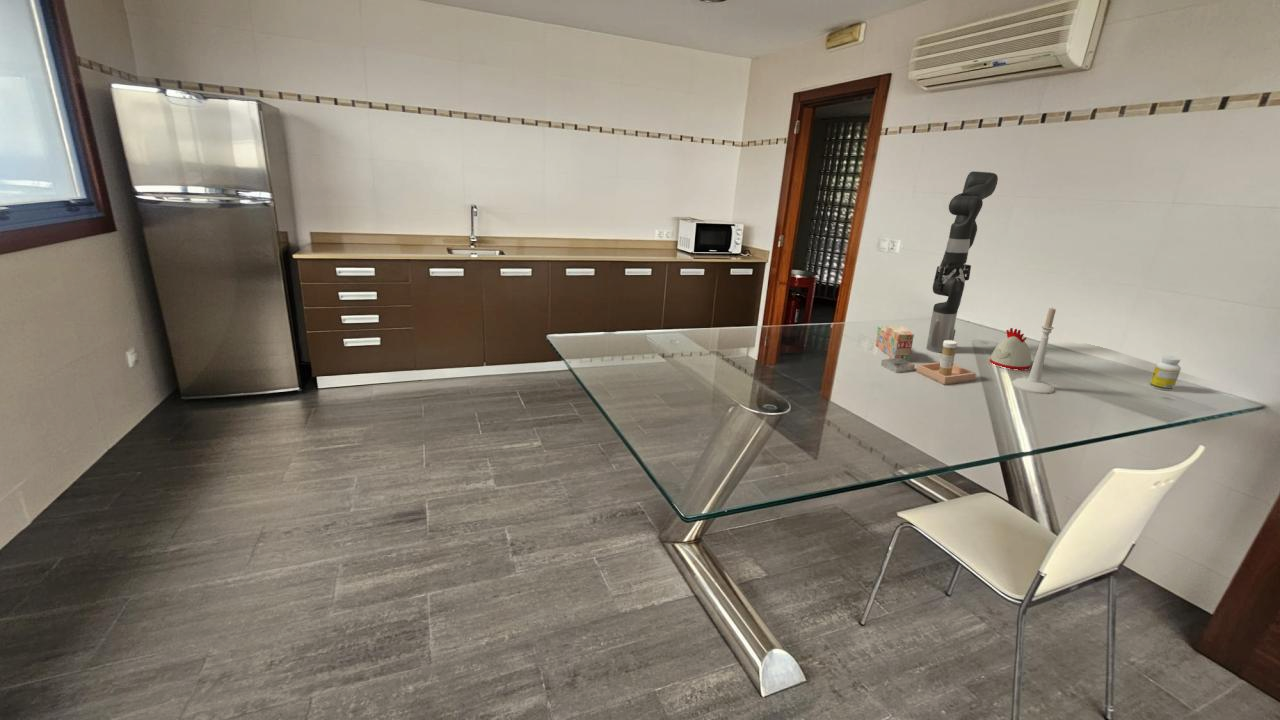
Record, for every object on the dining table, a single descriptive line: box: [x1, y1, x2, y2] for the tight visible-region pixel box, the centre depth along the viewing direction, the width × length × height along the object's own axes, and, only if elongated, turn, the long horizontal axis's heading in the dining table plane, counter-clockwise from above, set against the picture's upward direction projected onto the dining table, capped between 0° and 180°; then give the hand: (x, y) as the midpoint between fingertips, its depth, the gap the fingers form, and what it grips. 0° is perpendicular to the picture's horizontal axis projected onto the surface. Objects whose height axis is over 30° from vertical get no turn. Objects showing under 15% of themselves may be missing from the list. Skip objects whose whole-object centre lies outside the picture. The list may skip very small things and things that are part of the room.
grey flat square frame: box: [880, 358, 916, 374], centre depth 216 cm, size 9×9×2 cm
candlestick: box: [1011, 307, 1057, 395], centre depth 191 cm, size 13×13×30 cm
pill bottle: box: [1149, 355, 1182, 391], centre depth 192 cm, size 6×6×12 cm
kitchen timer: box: [989, 327, 1032, 371], centre depth 216 cm, size 14×14×15 cm
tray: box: [916, 361, 977, 386], centre depth 207 cm, size 14×14×3 cm
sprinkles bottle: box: [938, 340, 958, 376], centre depth 205 cm, size 5×5×14 cm
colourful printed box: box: [875, 325, 915, 362], centre depth 231 cm, size 21×6×12 cm, turn 178°
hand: (949, 292), depth 210 cm, fingers open, 8 cm apart
